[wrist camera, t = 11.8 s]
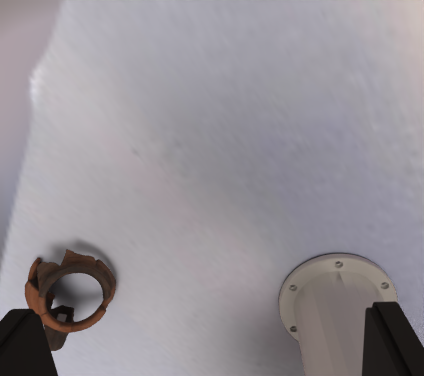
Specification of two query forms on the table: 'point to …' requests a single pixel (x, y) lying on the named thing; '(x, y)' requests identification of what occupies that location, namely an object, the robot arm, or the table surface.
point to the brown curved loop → (63, 316)
